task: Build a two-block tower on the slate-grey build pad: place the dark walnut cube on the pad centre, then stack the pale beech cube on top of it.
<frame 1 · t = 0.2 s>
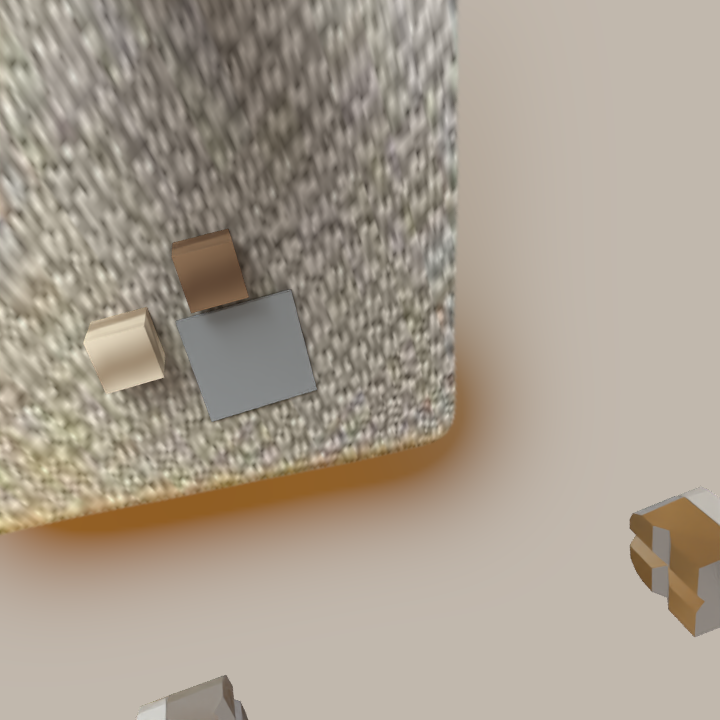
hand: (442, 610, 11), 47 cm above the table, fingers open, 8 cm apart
walnut cube: (208, 262, 54), on the table
build pad: (249, 355, 59), on the table
beech cube: (129, 338, 55), on the table
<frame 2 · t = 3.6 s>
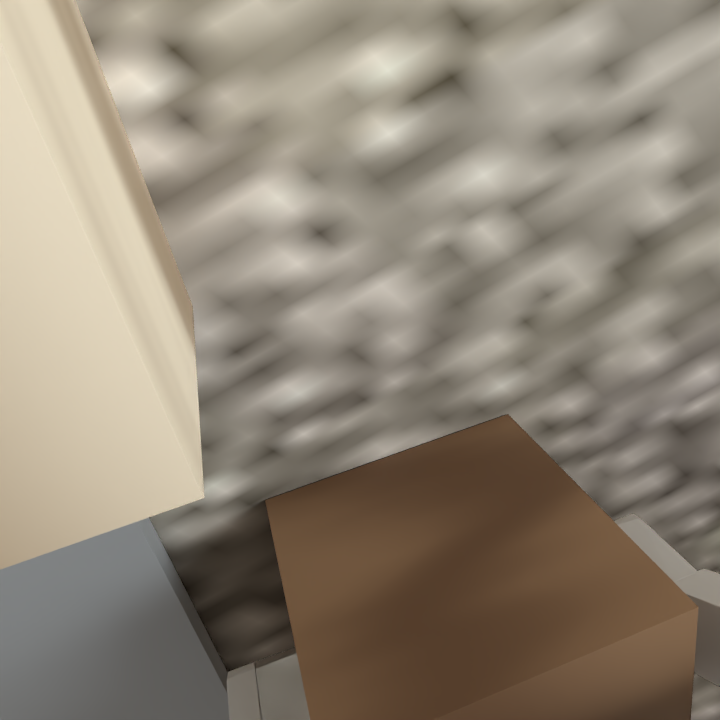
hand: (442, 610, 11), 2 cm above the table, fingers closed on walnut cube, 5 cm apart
walnut cube: (412, 548, 13), on the table, touching gripper
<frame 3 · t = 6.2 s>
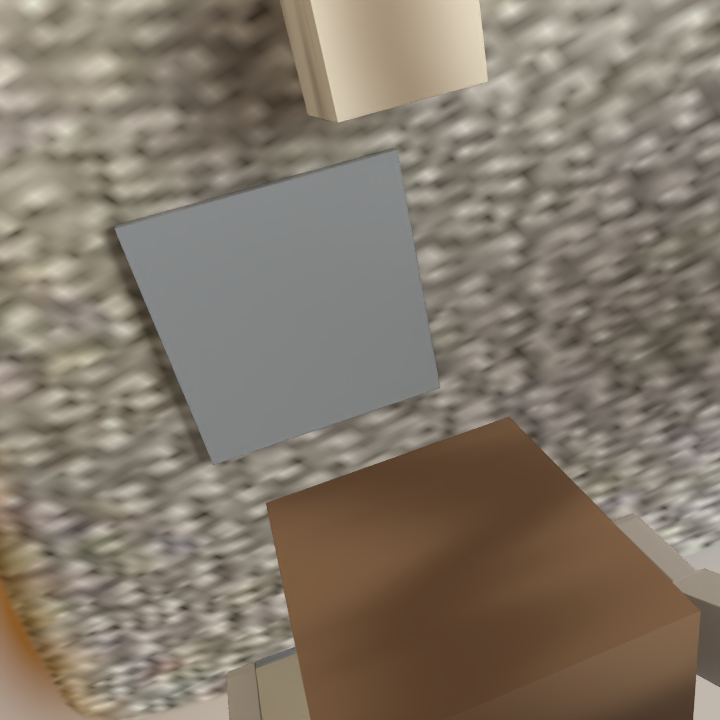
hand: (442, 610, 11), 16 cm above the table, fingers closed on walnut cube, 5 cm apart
walnut cube: (413, 551, 13), point 15 cm above the table, touching gripper
build pad: (296, 313, 26), on the table
beech cube: (355, 24, 22), on the table
when the fingers open (3 cm above the table, at t = 8.9 s): walnut cube stays where it is, resting on build pad.
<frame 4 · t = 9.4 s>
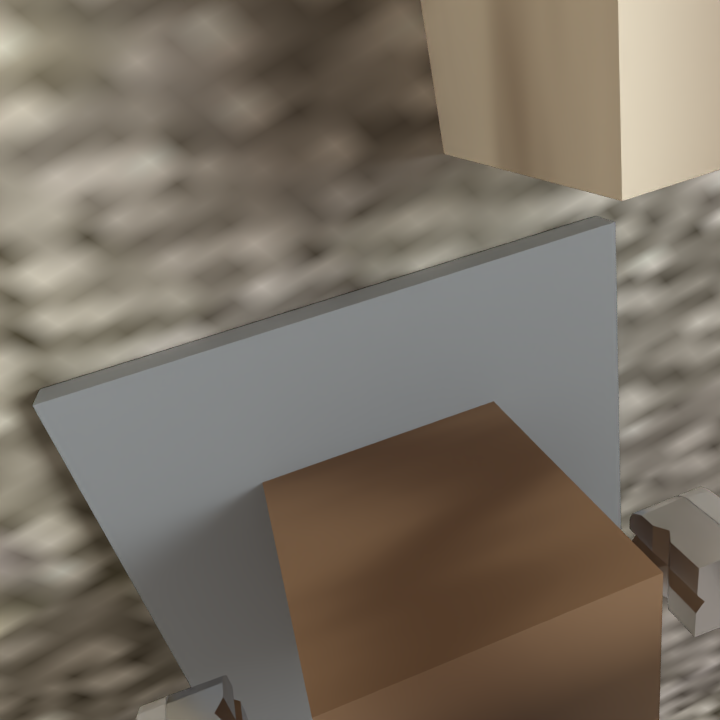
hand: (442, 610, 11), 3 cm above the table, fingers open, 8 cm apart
walnut cube: (403, 530, 13), point 1 cm above the table, touching build pad
build pad: (392, 514, 14), on the table
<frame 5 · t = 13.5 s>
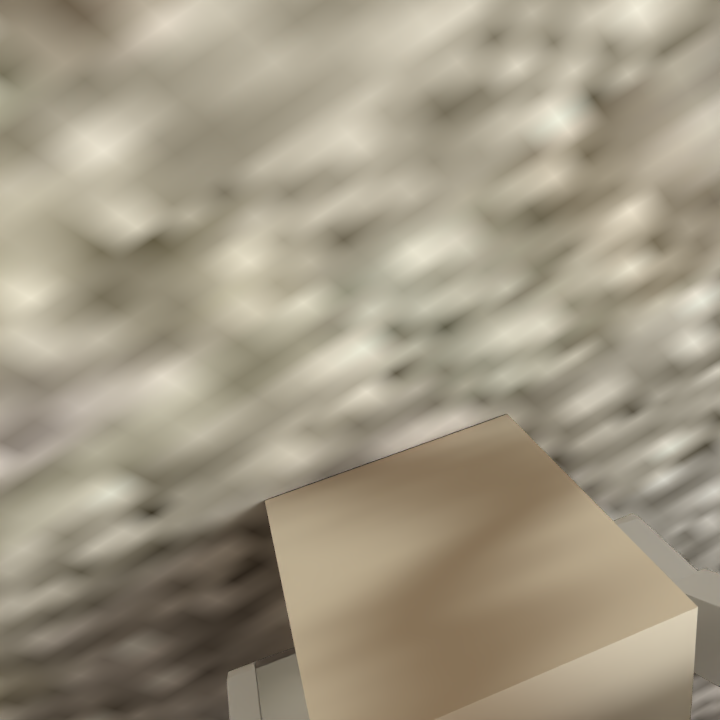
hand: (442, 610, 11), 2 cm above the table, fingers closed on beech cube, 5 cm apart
beech cube: (412, 548, 13), on the table, touching gripper
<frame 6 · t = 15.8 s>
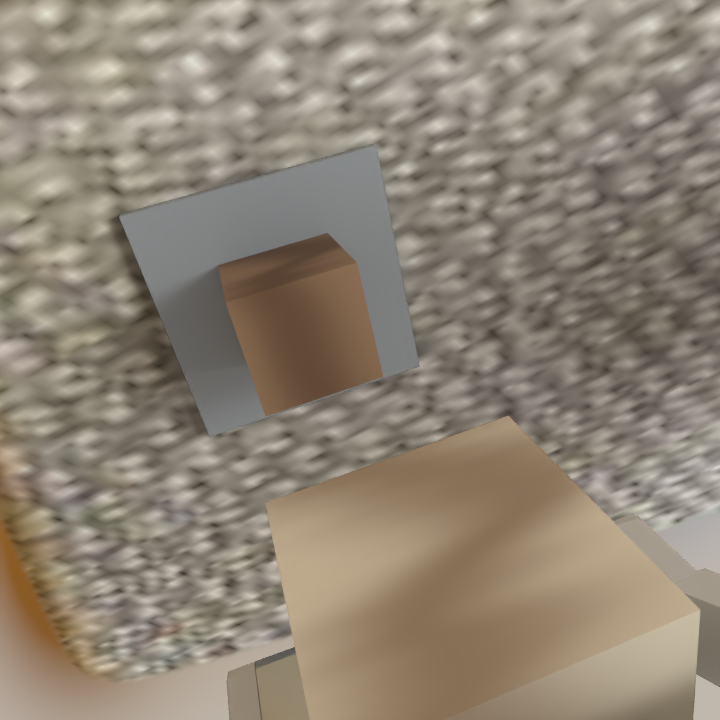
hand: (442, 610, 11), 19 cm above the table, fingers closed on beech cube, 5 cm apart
walnut cube: (288, 300, 27), point 1 cm above the table, touching build pad
build pad: (285, 296, 28), on the table
beech cube: (413, 550, 13), point 17 cm above the table, touching gripper
when the fingers open (8 cm above the table, at t = 18.6 s): beech cube drops 1 cm, resting on walnut cube.
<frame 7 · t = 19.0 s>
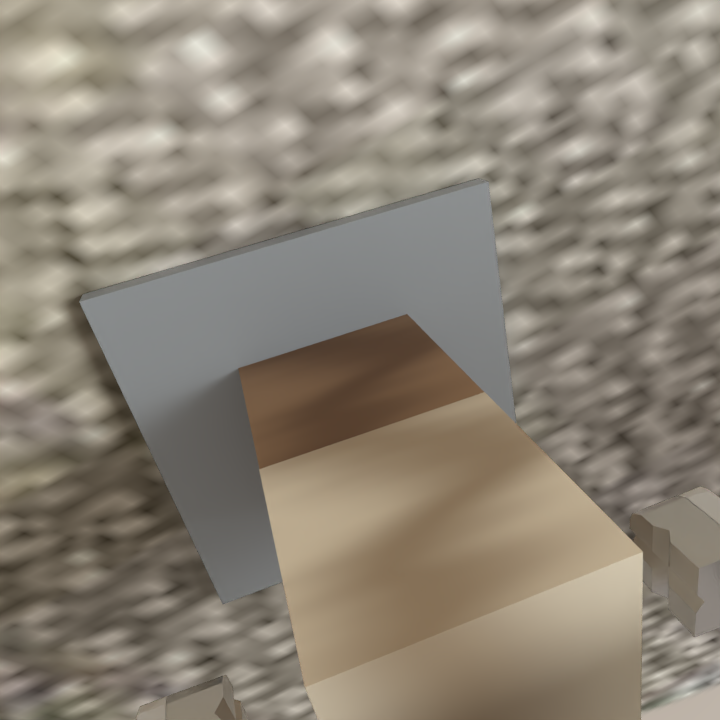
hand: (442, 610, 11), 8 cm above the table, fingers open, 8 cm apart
walnut cube: (344, 413, 18), point 1 cm above the table, touching beech cube, build pad
build pad: (337, 404, 19), on the table
beech cube: (396, 518, 14), point 6 cm above the table, touching walnut cube
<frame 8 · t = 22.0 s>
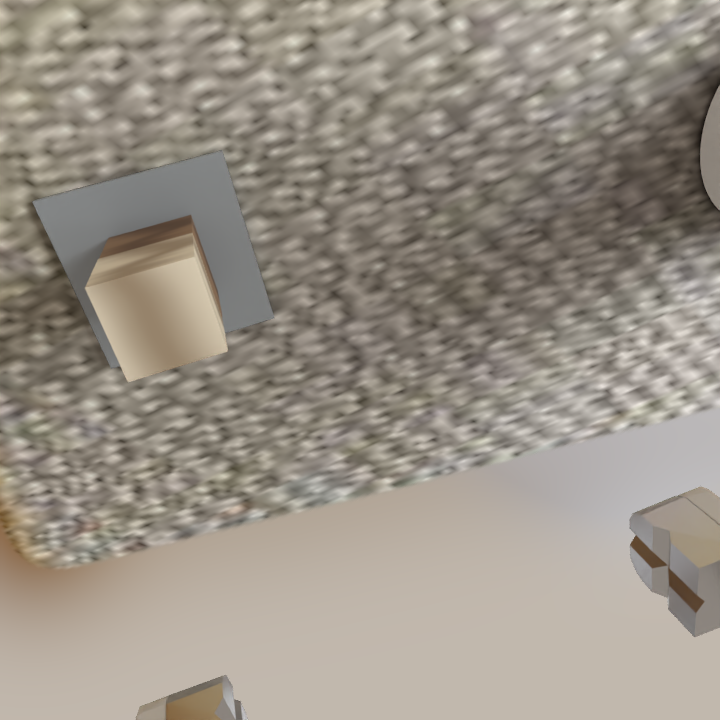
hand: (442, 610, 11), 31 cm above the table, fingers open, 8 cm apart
walnut cube: (165, 265, 37), point 1 cm above the table, touching beech cube, build pad
build pad: (164, 262, 38), on the table
beech cube: (162, 289, 33), point 6 cm above the table, touching walnut cube
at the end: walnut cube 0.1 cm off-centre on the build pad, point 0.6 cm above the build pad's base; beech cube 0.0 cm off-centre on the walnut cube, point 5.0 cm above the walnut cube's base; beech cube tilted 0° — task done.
